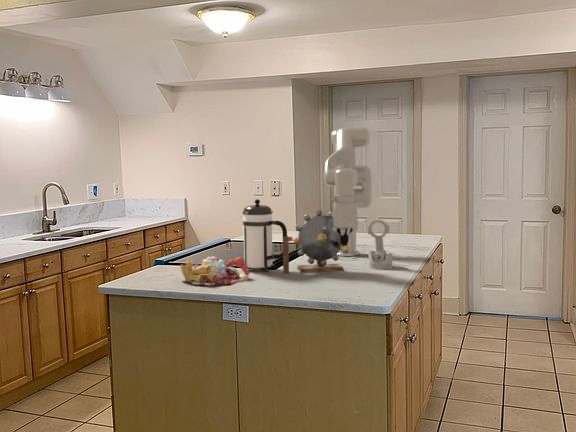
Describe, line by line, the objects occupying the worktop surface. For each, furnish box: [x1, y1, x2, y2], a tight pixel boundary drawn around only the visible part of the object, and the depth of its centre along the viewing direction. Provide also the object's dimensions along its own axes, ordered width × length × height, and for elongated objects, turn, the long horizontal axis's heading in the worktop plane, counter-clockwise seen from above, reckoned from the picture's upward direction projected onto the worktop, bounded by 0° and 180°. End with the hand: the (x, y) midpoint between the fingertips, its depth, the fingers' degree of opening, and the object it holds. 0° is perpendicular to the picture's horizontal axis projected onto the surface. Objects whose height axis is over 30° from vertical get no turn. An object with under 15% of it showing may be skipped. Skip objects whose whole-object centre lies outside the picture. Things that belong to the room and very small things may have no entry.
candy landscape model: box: [180, 256, 250, 286], centre depth 235 cm, size 25×24×9 cm
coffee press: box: [239, 198, 288, 273], centre depth 252 cm, size 17×16×30 cm
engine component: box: [366, 218, 393, 270], centre depth 255 cm, size 11×20×10 cm
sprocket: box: [292, 209, 349, 266], centre depth 243 cm, size 23×11×23 cm
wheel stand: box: [282, 235, 344, 274], centre depth 250 cm, size 25×8×15 cm, turn 101°
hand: (344, 244), depth 242 cm, fingers closed
